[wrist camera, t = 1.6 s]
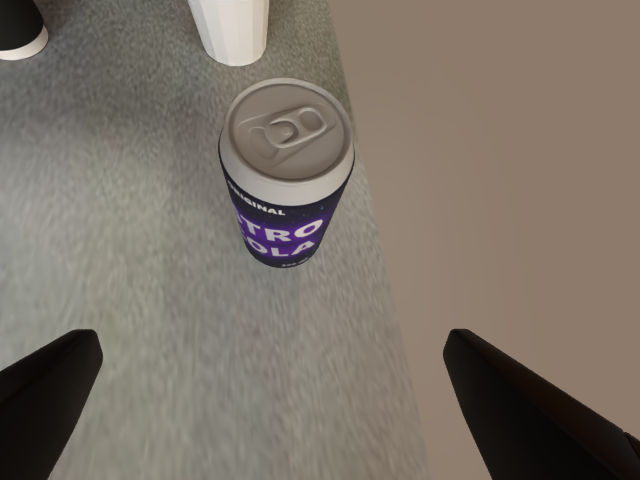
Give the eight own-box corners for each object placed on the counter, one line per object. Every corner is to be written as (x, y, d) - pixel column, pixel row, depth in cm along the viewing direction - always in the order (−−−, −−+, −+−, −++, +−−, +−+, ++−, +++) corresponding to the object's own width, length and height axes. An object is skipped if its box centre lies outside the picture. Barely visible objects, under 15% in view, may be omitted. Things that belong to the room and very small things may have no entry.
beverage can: (229, 220, 23) (184, 97, 11) (295, 187, 24) (313, 52, 13) (267, 285, 21) (259, 221, 10) (334, 247, 23) (390, 155, 12)
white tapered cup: (244, 6, 30) (235, -89, 23) (287, 53, 29) (291, -34, 22) (180, 32, 28) (151, -66, 21) (224, 83, 26) (208, -3, 20)
